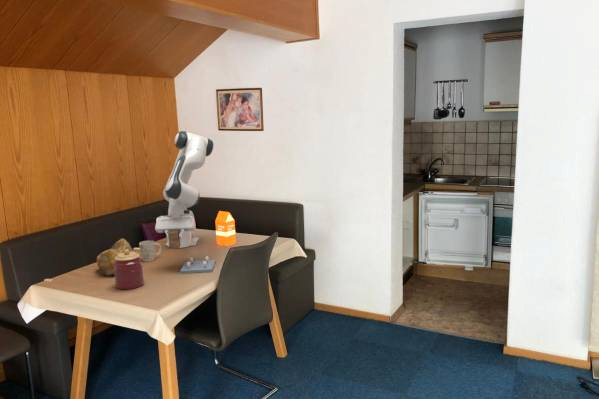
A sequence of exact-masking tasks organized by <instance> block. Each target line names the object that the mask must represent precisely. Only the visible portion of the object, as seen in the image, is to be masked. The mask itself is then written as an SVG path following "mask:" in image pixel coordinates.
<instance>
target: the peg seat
mask: <svg viewBox="0 0 599 399" xmlns="http://www.w3.org/2000/svg"><path fill="white" fill-rule="evenodd" d="M216 263H217V261H216V259H210V258H209V256H208V255H207V256H205V260H204V259H203V260H194V258H193V257H191V256H190V257H189V260H186V261H184V263H183V265H182V266H181V268H180V270H179V274H181V275H183V274H185V275H186V274H200V273H201V274H202V273H203V272H205V273H213V271H214V268H215V265H216ZM203 274H204V273H203Z"/></svg>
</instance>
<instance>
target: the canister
mask: <svg viewBox="0 0 599 399" xmlns="http://www.w3.org/2000/svg"><path fill="white" fill-rule="evenodd" d="M142 262H143V259H142V257H140V254H139V253H138V252H136V251H133V252H130V251H129V250H128V249H126V250H124V253H120V254H118V255H117V256H116V257H115V261H114V262H113V264H114V265H115V269H114V272H115V275H114V280H115V282H114V283H115V286H116V288H117V289H119V290H132V289H136V288H139V287H141V286H143V285H144V284H145V278H144V271H143V265H142Z"/></svg>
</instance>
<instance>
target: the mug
mask: <svg viewBox="0 0 599 399" xmlns="http://www.w3.org/2000/svg"><path fill="white" fill-rule="evenodd" d="M138 246H139V250H140V254H141V259H142V262H152V261H154V260H155V256H158V255H159V254H161V252H162V245H161V244H160V243H158V242H155V240H143V241H140V242H139V243H138ZM157 246H158V249H159V250H158V252H157V253H155V250H156V249H155V247H157Z"/></svg>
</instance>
